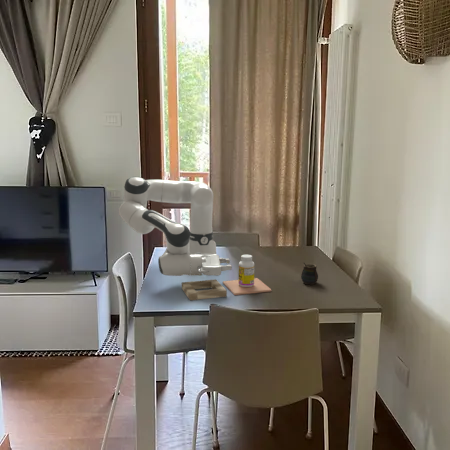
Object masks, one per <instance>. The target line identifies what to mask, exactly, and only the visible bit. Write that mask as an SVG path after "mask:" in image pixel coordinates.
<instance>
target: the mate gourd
mask: <svg viewBox="0 0 450 450" xmlns="http://www.w3.org/2000/svg"><path fill="white" fill-rule="evenodd" d="M300 278H301V280H302V282H303V283H304V285H315V284H316V283H317V282H318V279H319V274H318V271H317V265H316V264H314V263H305V262H303V270H302V271H301V276H300Z"/></svg>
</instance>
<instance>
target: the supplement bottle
mask: <svg viewBox="0 0 450 450" xmlns="http://www.w3.org/2000/svg"><path fill="white" fill-rule="evenodd" d="M255 265H256V264H255V262H254V261H253V254H252V255H251V254H242V255H241V256H240V261H239V262H238V280H239V285H240V286H241V287H252V286H253V285H254V278H255Z"/></svg>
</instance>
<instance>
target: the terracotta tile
mask: <svg viewBox="0 0 450 450" xmlns="http://www.w3.org/2000/svg"><path fill="white" fill-rule="evenodd" d="M222 284H223V285H224V286H225V287H226V288H227V289H228V290H229V291H230V293H231V294H233V295H234V296H241V295H250V294H258V293H268V292H272V289H271V288H270V287H269V286H268V285H267V284H265V283H264V282H263V281H262V280H261V279H259V278H258V277H254V285H253V286H252V287H241V286H240V285H239V279H233V280H223V281H222Z"/></svg>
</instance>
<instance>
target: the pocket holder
mask: <svg viewBox="0 0 450 450" xmlns="http://www.w3.org/2000/svg"><path fill="white" fill-rule="evenodd" d="M181 289H182V290H183V292H184V294H185V295H186V296H187V297H186V298H188V299H189V301H195V300H196V301H197V300H207V299H215V298H224V297H226V298H227V296H228V294H227V293H228V292H227V289H226V288H225V287H224V286H223V285H222V284H221V283H220V282H219V281H218V279H216V278H215V279H205V280H194V281H183V282H181Z"/></svg>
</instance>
